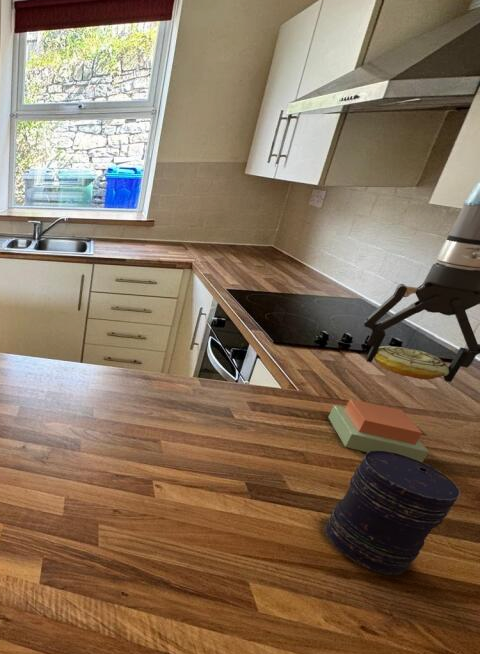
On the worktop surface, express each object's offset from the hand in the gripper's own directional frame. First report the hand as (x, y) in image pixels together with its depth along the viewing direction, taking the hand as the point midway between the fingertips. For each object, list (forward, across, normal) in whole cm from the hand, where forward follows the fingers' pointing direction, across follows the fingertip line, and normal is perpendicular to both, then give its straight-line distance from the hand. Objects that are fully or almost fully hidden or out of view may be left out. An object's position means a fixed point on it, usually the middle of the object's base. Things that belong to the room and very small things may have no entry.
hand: (406, 369), depth 84 cm
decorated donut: (0, 0, 0) cm, 0 cm away
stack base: (+16, 0, -4) cm, 17 cm away
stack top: (+13, 0, -4) cm, 13 cm away
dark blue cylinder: (+16, -2, -41) cm, 44 cm away
